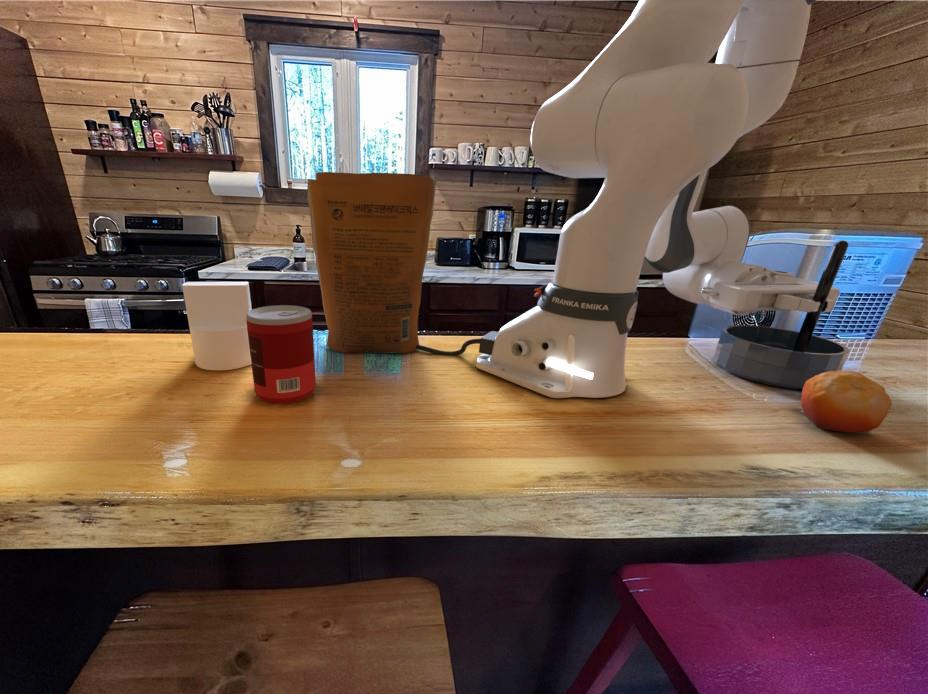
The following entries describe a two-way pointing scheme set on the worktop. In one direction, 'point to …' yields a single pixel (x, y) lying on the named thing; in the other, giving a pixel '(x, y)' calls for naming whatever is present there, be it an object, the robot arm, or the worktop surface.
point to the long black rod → (821, 294)
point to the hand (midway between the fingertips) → (823, 307)
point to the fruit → (844, 402)
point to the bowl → (776, 355)
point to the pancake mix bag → (371, 256)
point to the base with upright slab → (218, 323)
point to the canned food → (282, 353)
